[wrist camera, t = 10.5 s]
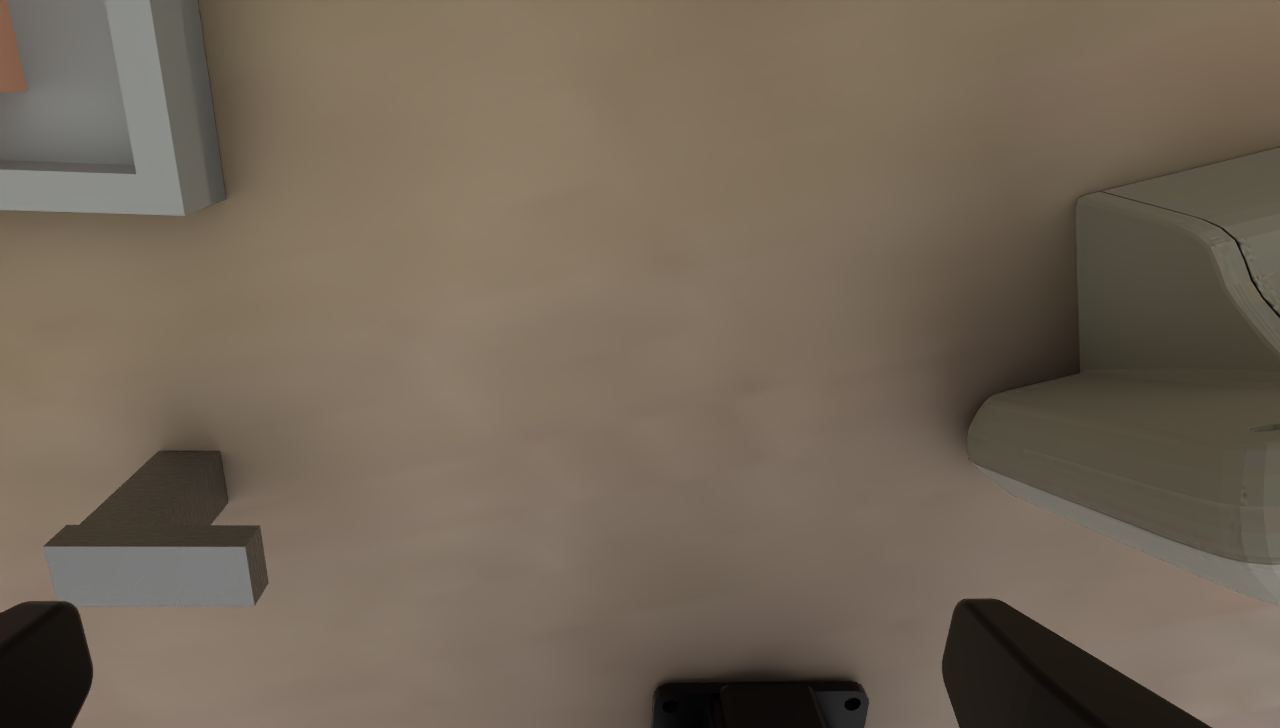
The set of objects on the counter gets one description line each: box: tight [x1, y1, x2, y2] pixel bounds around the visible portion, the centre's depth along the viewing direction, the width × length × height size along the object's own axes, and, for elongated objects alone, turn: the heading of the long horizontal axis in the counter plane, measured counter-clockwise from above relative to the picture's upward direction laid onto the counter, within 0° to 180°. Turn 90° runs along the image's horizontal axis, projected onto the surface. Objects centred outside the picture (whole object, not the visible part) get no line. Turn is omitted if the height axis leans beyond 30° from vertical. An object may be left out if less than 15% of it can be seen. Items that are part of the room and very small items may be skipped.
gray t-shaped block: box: [43, 451, 268, 607], centre depth 19 cm, size 2×4×4 cm, turn 87°
